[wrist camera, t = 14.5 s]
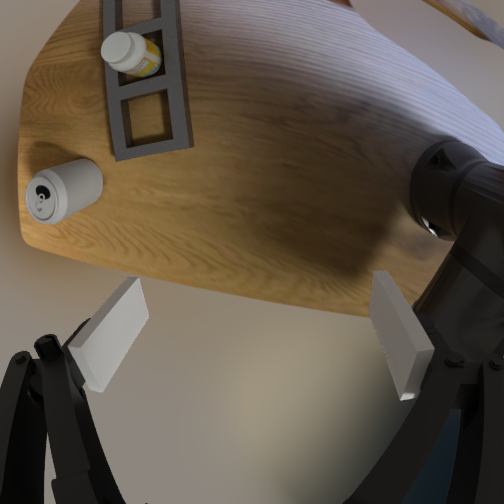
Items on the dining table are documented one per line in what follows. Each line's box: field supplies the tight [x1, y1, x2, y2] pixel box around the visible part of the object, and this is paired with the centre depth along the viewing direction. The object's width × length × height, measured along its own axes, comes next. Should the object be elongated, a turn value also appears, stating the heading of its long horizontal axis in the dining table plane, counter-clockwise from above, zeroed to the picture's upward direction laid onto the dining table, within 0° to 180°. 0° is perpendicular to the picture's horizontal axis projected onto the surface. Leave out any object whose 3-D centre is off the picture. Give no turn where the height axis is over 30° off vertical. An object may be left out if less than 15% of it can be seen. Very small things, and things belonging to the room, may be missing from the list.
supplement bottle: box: [101, 32, 163, 77], centre depth 30 cm, size 5×5×10 cm
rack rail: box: [103, 0, 194, 162], centre depth 33 cm, size 11×28×2 cm, turn 6°
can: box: [25, 159, 103, 225], centre depth 36 cm, size 8×8×12 cm
